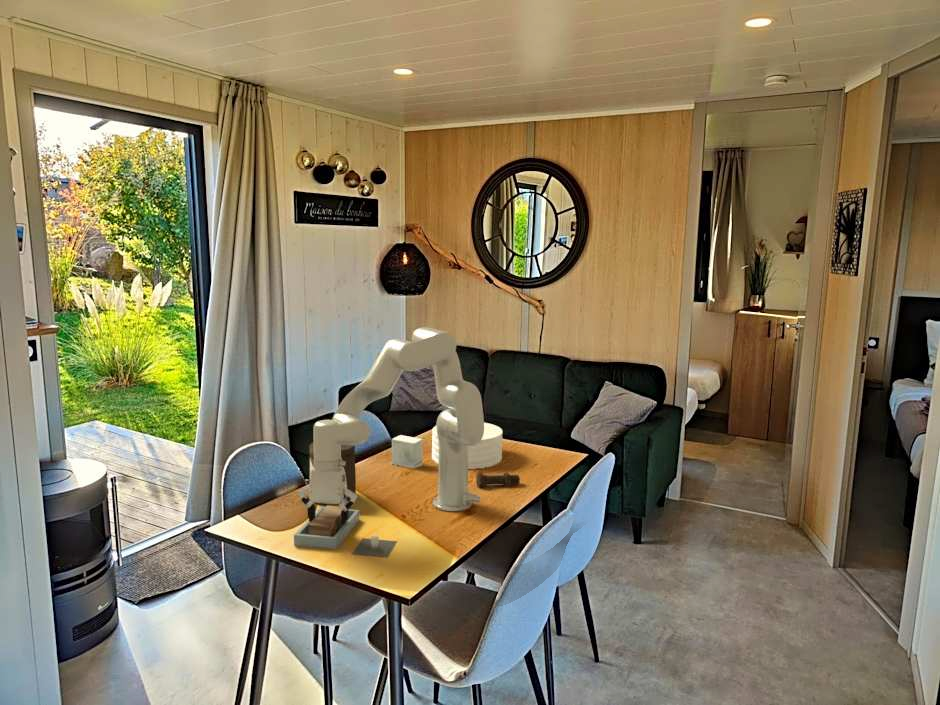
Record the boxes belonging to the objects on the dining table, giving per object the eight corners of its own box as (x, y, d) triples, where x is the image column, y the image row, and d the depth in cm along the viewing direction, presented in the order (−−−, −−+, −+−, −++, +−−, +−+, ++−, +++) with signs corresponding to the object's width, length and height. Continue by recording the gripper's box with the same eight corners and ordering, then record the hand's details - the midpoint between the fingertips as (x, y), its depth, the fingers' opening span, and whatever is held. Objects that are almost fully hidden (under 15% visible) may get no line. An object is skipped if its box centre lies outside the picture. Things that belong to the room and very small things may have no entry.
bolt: (518, 490, 232) (477, 491, 229) (515, 479, 236) (475, 480, 233) (522, 479, 228) (480, 480, 225) (519, 468, 232) (477, 469, 229)
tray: (359, 522, 197) (359, 510, 196) (336, 552, 177) (335, 538, 177) (321, 519, 199) (321, 506, 198) (294, 548, 179) (293, 534, 179)
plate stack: (475, 443, 280) (476, 417, 279) (515, 461, 258) (516, 433, 256) (418, 453, 265) (419, 426, 263) (456, 474, 242) (457, 444, 240)
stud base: (397, 544, 183) (397, 531, 182) (387, 561, 173) (387, 547, 173) (362, 541, 184) (362, 528, 184) (351, 557, 175) (351, 543, 174)
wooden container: (320, 487, 225) (319, 425, 222) (361, 491, 223) (361, 428, 219) (302, 503, 211) (301, 437, 207) (346, 507, 208) (345, 441, 205)
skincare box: (391, 465, 250) (391, 438, 248) (400, 460, 256) (400, 434, 254) (414, 469, 245) (414, 442, 244) (423, 464, 251) (423, 438, 249)
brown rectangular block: (329, 543, 181) (329, 526, 180) (309, 541, 181) (308, 524, 181) (346, 522, 194) (346, 506, 193) (327, 521, 195) (327, 505, 194)
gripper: (361, 461, 187) (361, 518, 190) (303, 457, 190) (304, 513, 192) (352, 470, 180) (352, 529, 182) (292, 465, 182) (294, 523, 185)
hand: (328, 521), depth 187 cm, fingers open, 9 cm apart
